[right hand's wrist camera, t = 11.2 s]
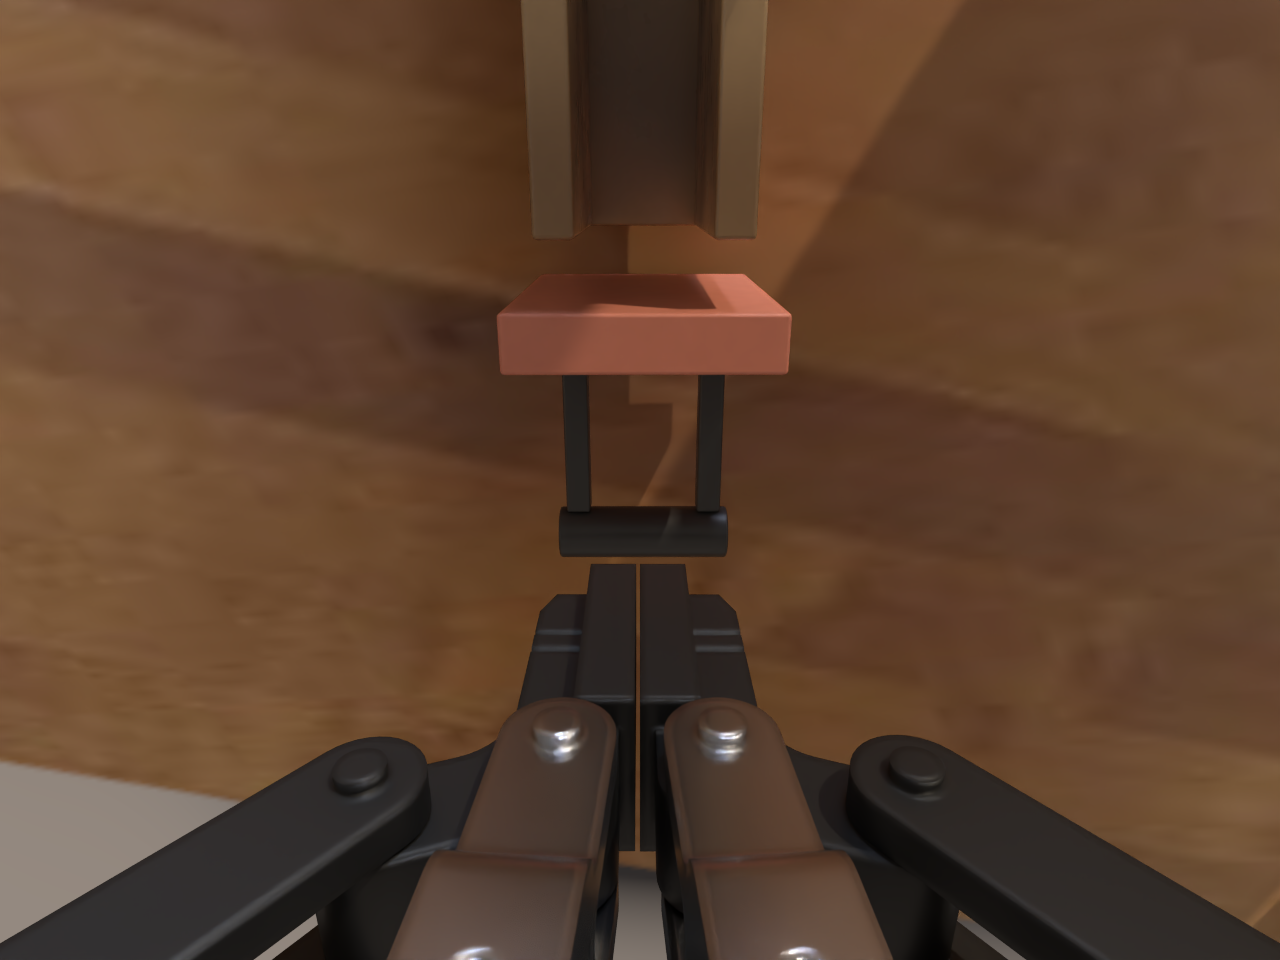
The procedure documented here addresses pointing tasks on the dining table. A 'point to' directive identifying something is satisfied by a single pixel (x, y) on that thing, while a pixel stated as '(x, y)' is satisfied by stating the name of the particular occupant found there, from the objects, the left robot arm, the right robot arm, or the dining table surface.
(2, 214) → the dining table surface
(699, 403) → the drawer
